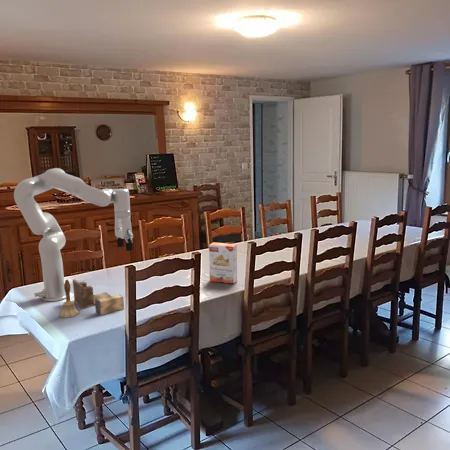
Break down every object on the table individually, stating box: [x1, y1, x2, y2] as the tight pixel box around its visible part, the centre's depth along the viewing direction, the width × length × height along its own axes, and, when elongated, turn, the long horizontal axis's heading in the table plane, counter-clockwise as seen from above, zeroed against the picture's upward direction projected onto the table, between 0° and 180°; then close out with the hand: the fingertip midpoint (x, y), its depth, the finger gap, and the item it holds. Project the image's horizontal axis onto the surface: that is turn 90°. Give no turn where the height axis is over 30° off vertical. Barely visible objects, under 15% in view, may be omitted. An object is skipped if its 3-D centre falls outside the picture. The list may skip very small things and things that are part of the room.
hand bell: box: [59, 279, 80, 318], centre depth 203 cm, size 8×8×16 cm
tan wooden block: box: [94, 294, 125, 316], centre depth 207 cm, size 12×4×6 cm, turn 126°
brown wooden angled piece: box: [72, 278, 112, 309], centre depth 219 cm, size 16×12×11 cm
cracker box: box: [208, 241, 238, 284], centre depth 244 cm, size 14×6×21 cm, turn 68°
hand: (125, 248), depth 223 cm, fingers open, 9 cm apart
